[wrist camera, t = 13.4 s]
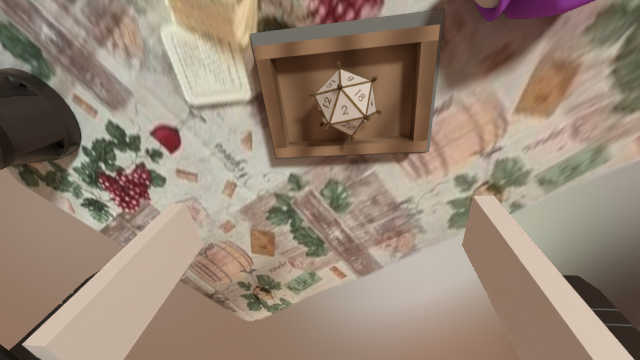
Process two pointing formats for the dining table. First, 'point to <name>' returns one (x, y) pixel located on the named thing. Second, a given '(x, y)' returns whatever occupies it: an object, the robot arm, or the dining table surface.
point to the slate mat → (358, 28)
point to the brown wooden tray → (361, 59)
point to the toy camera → (526, 8)
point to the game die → (346, 101)
